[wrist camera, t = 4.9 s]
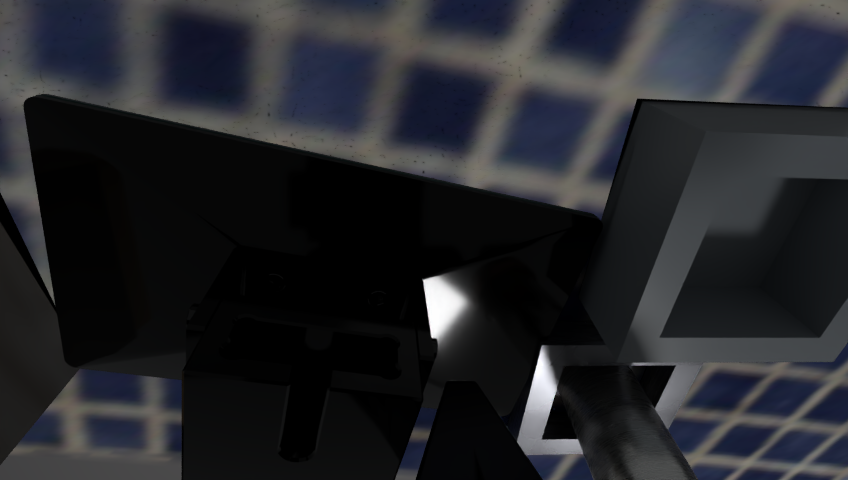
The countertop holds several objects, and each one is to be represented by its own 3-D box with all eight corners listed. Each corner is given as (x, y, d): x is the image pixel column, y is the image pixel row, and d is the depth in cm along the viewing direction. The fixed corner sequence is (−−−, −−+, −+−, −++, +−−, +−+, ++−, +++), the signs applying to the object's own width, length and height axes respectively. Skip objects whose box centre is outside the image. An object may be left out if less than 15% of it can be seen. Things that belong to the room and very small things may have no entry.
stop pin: (646, 347, 14) (827, 610, 8) (622, 405, 15) (762, 665, 9) (560, 348, 14) (681, 618, 8) (544, 408, 15) (637, 673, 9)
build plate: (598, 212, 11) (730, 338, 7) (502, 410, 14) (552, 576, 10) (32, 90, 8) (-296, 173, 4) (73, 365, 12) (-90, 561, 8)
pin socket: (692, 321, 13) (712, 345, 12) (641, 426, 16) (655, 452, 15) (531, 321, 13) (542, 345, 12) (506, 428, 15) (513, 455, 15)
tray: (868, 109, 10) (996, 142, 8) (760, 298, 13) (833, 361, 11) (637, 98, 10) (705, 131, 7) (578, 297, 12) (616, 362, 10)
